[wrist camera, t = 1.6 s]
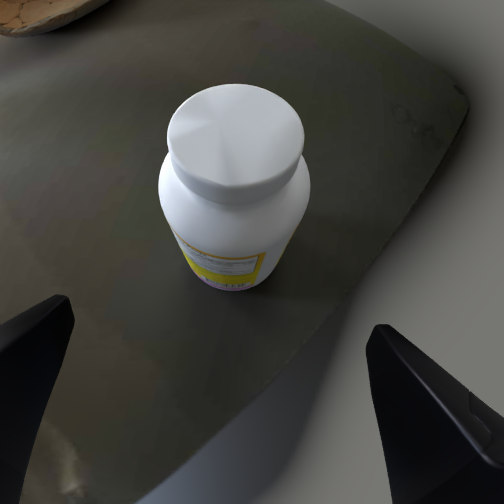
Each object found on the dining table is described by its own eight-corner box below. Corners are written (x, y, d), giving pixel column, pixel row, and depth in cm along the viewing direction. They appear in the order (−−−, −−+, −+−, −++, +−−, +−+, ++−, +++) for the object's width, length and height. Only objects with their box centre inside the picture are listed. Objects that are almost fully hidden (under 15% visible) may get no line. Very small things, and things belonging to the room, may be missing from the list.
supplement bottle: (244, 188, 24) (260, 49, 11) (297, 258, 22) (372, 156, 10) (167, 234, 22) (111, 114, 10) (218, 312, 21) (203, 261, 8)
